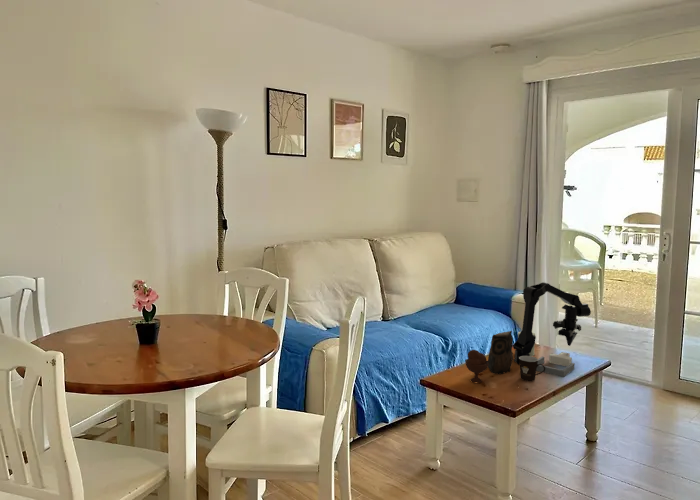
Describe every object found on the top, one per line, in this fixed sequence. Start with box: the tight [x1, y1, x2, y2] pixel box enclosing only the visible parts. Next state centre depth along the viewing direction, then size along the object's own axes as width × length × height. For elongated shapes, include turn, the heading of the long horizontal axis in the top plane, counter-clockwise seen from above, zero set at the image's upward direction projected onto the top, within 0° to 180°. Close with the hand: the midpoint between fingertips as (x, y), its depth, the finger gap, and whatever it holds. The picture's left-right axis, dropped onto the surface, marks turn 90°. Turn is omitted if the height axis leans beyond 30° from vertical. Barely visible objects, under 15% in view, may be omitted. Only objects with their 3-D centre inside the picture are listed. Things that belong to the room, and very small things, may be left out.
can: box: [517, 331, 536, 357], centre depth 281 cm, size 9×9×12 cm
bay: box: [536, 356, 576, 378], centre depth 257 cm, size 15×16×3 cm
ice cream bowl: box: [464, 349, 489, 383], centre depth 240 cm, size 11×11×15 cm
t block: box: [548, 351, 573, 367], centre depth 268 cm, size 10×10×4 cm
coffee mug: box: [518, 356, 546, 382], centre depth 242 cm, size 12×9×10 cm
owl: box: [487, 330, 514, 375], centre depth 254 cm, size 13×13×20 cm
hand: (569, 345), depth 274 cm, fingers closed
